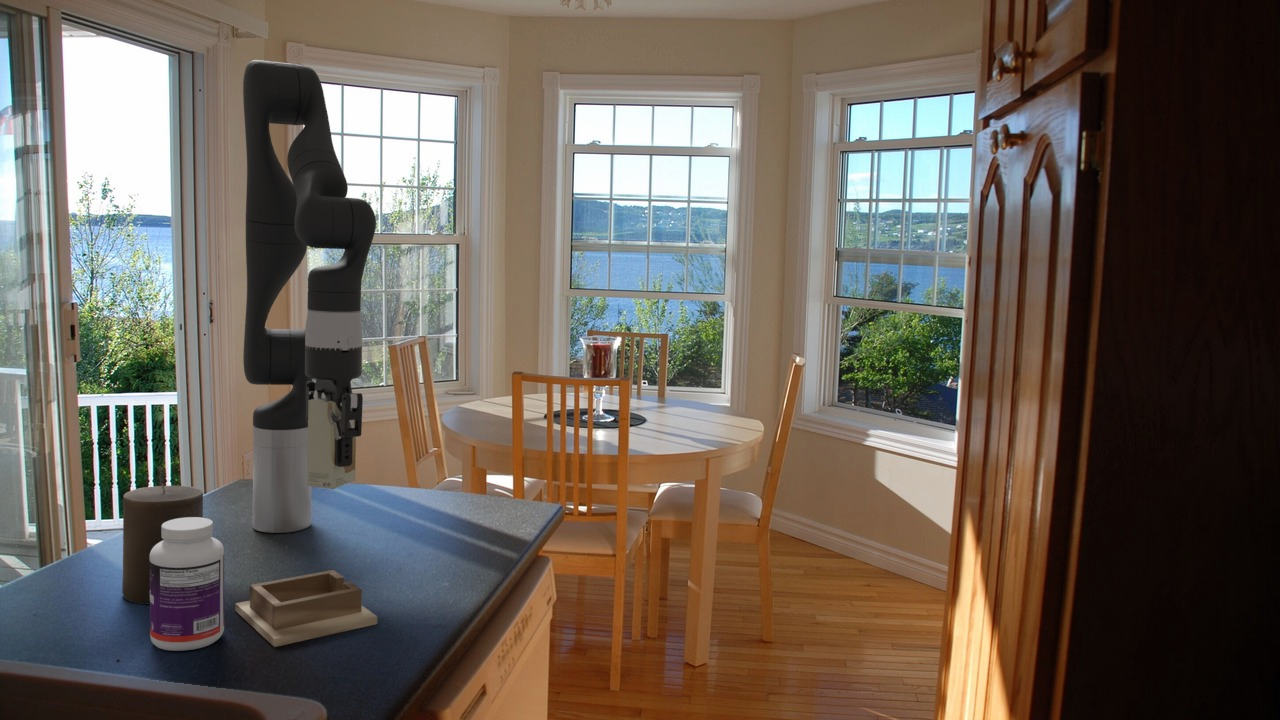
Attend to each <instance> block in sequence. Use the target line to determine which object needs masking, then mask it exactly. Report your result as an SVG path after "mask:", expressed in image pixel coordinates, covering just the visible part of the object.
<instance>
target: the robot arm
mask: <svg viewBox="0 0 1280 720" xmlns="http://www.w3.org/2000/svg"><path fill="white" fill-rule="evenodd" d="M242 80H243V81H242V97H243V98H242V100H243V115H244V116H243V118H244V119H243V120H244V130H245V131H244V132H245V133H244V134H245V135H244V136H245V146H246V147H245V148H246V192H245V193H246V197H245V198H246V199H245V200H246V201H245V256H246V257H245V261H246V263H245V264H246V303H245V304H246V306H245V318H244V319H245V321H244V322H245V324H244V338H243V353H242V354H243V362H242V363H243V371H244V372H243V373H244V377H245V378H246V379H245V380H246V381H247V382H248V383H249V384H250V385H258V386H259V385H262V386H264V385H265V386H266V385H267V386H268V385H270V386H274V385H275V386H276V385H277V386H282V385H283V386H284V385H285V386H288V385H291V386H292V389H291V390H290V391H289V392H288V393H287V394H285V395H284V396H282V397H280V398H278V399H275V400H274V401H271V402H268V403H265V404H262V405H259V406H257V407H256V408H255V409H254V410H253V413H252V528H253V530H255V531H258V532H262V533H269V534H282V533H283V534H284V533H293V532H297V531H302V530H305V529H307V528H309V527H310V526H311V525H312V487H310V486H307V450H308V401H309V400H312V399H316V398H322V400H324V401H325V402H328V401H333V402H336V405H337V407H338V409H339V410H340V411H341V416H335V414H334V413H333V411H332V410H331V408H330V406H329V423H330V424H333V425H334V433H335V438H336V440H335V465H336V466H338V467H344V466H350V465H351V464H352V446H353V439H354V438H355V437H356V438H358V437H361V436H362V429H363V428H362V426H363V404H364V403H363V400H364V399H363V398H364V397H363V394H362V393H361V392H358V393H357V392H353V390H352V383H351V382H352V380H353V379H354V380H355V379H358V378H360V377H361V375H362V372H363V371H362V370H363V369H362V368H363V364H362V363H363V320H362V311H361V309H362V281H363V275H364V272H365V267H366V262H367V259H368V255H369V253H370V249H371V246H372V243H373V239H374V237H375V232H376V230H377V227H376V226H377V220H376V219H377V218H376V215H375V212H374V209H373V207H372V206H371V204H370V203H369V202H368V201H366V200H365V199H362V198H356V197H347V195H348V187H349V185H348V181H347V179H346V176H345V174H344V171H343V168H342V167H341V163H340V161H339V159H338V155H337V153H336V151H335V147H334V144H333V138H332V133H331V132H332V131H331V125H330V121H329V115H328V111H327V104H326V100H325V99H326V98H325V94H324V89H323V86H322V83H321V80H320V78H319V75H318V73H317V72H316V71H315V70H314V69H313V68H312V67H309V66H307V65H303V64H298V63H297V64H296V63H291V62H290V63H288V62H281V61H280V62H279V61H270V60H262V59H261V60H259V59H254V60H251V61H249V62H247V64H246V66H245V70H244V73H243V79H242ZM270 124H273V125H274V124H275V125H285V126H286V125H288V126H303V127H302V129H301V131H300V132H299V133H298V135H297V136H296V137H295V138H294V140H293V141H292V143H291V144H290V147H289V148H288V152H287V156H286V157H287V159H286V160H287V161H286V162H287V169H288V173H289V176H290V177H289V176H288V175H287V173H286V171H285V169H284V168H283V166H282V164H281V162H280V160H279V158H278V156H277V154H276V151H275V149H274V146H273V142H272V137H271V133H270V131H271V130H270ZM308 247H310V248H314V249H329V250H331V249H333V250H344V252H343V254H342V256H341V257H340V259H339V260H338V261H337V262H335V263H332V264H327V265H321V266H318V267H315V268H312V269H311V270H310V271H309V272H308V275H307V310H306V311H307V312H306V319H305V329H299V328H295V329H294V328H293V329H292V328H289V329H288V328H266V323H267V320H268V317H269V314H270V311H271V309H272V307H273V305H274V303H275V301H276V299H277V298H278V296H279V294H280V292H281V291H282V290H283V288H284V287H285V285H286V284H287V283H288V282H289V280H291V277H293V275H294V274H295V273H296V271H297V269H298V267H299V266H300V265H301V264H302V262H303V260H304V258H305V256H306V253H307V250H308ZM354 420H355V428H354V424H353V421H354ZM340 424H341V428H340Z"/></svg>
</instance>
